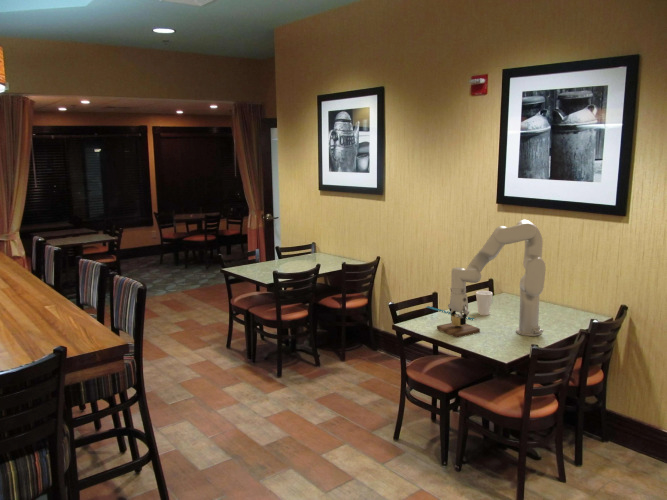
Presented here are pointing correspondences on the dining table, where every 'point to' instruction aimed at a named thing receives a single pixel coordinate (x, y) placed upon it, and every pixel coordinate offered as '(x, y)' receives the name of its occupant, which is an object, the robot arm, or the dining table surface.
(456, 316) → the steel post
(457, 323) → the brass ring
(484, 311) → the foam cup
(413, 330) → the dining table surface
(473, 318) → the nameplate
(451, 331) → the walnut board
